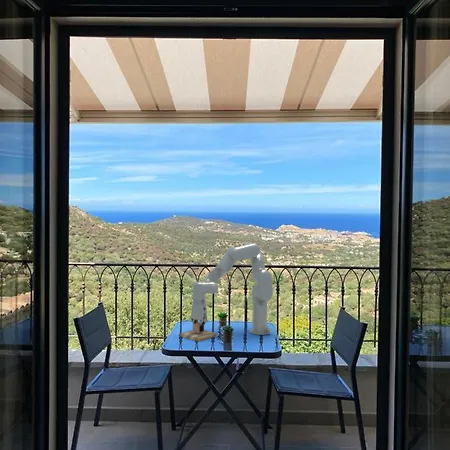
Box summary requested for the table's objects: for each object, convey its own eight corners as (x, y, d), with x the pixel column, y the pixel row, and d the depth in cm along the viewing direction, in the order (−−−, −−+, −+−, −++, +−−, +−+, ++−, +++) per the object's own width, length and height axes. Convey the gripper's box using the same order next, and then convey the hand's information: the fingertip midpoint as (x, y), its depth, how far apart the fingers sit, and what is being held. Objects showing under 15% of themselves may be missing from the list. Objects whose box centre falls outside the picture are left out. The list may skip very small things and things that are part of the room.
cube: (204, 331, 248) (204, 323, 248) (198, 332, 244) (198, 324, 244) (198, 329, 251) (198, 322, 251) (192, 331, 247) (192, 323, 247)
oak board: (216, 336, 248) (216, 333, 248) (198, 341, 236) (198, 338, 236) (198, 331, 259) (198, 328, 259) (180, 336, 246) (180, 333, 246)
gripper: (212, 302, 245) (212, 332, 245) (193, 299, 256) (193, 327, 256) (204, 304, 239) (204, 334, 239) (185, 300, 250) (184, 329, 250)
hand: (198, 330), depth 247 cm, fingers closed on cube, 5 cm apart
